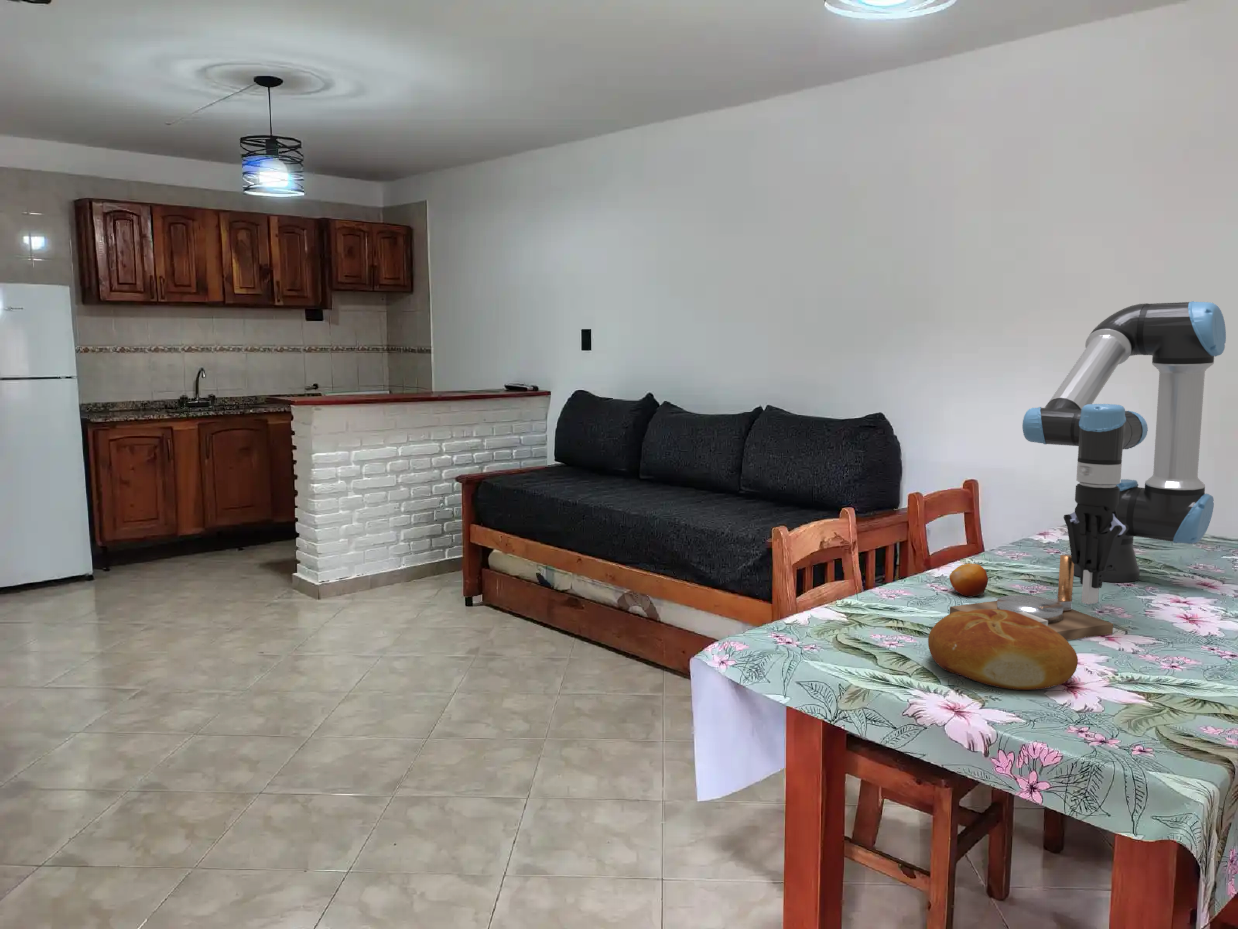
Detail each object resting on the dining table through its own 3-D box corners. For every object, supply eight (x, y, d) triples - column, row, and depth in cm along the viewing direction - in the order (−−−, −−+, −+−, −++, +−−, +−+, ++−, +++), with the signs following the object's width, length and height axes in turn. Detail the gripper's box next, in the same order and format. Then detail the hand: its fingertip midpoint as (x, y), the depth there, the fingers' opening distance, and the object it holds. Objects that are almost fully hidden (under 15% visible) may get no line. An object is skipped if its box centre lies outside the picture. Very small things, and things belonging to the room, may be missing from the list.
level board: (1033, 605, 190) (1034, 585, 189) (1112, 633, 171) (1114, 611, 170) (949, 616, 182) (950, 595, 182) (1022, 646, 164) (1023, 624, 163)
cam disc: (1028, 625, 169) (1031, 569, 167) (983, 608, 180) (986, 555, 179) (1093, 616, 174) (1097, 562, 173) (1046, 600, 185) (1049, 549, 184)
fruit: (1000, 593, 193) (981, 562, 193) (966, 610, 195) (948, 579, 195) (992, 584, 201) (974, 554, 201) (960, 599, 203) (942, 570, 203)
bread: (1002, 708, 137) (1005, 646, 136) (899, 659, 158) (901, 605, 157) (1104, 685, 146) (1109, 626, 145) (993, 642, 167) (996, 590, 166)
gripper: (1055, 480, 175) (1048, 595, 178) (1113, 490, 163) (1104, 614, 166) (1083, 478, 177) (1075, 591, 181) (1142, 488, 165) (1133, 609, 169)
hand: (1089, 602), depth 173 cm, fingers closed
